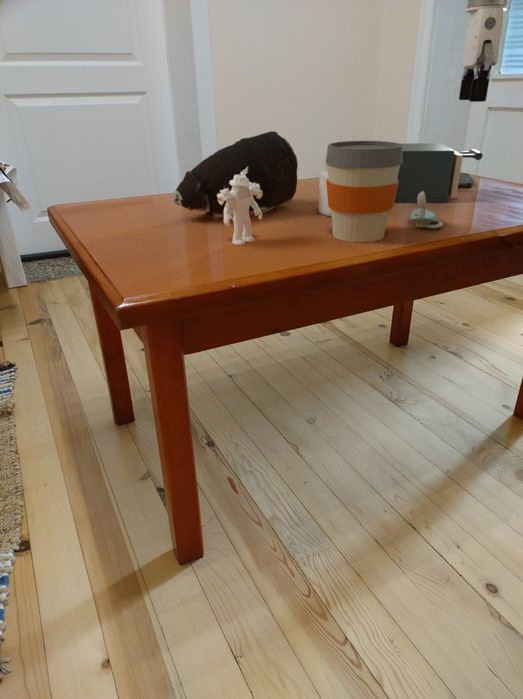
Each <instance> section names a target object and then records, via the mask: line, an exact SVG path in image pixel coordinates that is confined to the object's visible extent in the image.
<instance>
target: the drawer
mask: <svg viewBox="0 0 523 699" xmlns="http://www.w3.org/2000/svg"><path fill="white" fill-rule="evenodd" d="M449 148H450V149H452V148H451V147H449ZM465 158H468V159H469V158H472V159H474V160H476V161H480V160H482V159H483V153H482V152H481V151H479V150H476V149H474V148H470V149H469V150H467V151H456V150H454V158H453V164H452V171H451V177H450V184H449V190H448V197H449V198H450V199H457V194H458V188H459V187H458V183H459V176H460V173H461V168H462V163H463V159H465Z"/></svg>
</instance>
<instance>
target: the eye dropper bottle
mask: <svg viewBox="0 0 523 699" xmlns="http://www.w3.org/2000/svg"><path fill="white" fill-rule="evenodd" d="M327 179H329V178H328V165H327V164H326V158H325V159H324V171H322V172H321V173H320V175H319V181H318V204H317V206H318V208H317V210H318V213H319V214H320V215H322V216H326V217H331V209H330V208H329V207H328V196H327V184H326V180H327Z"/></svg>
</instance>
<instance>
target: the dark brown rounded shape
mask: <svg viewBox="0 0 523 699" xmlns="http://www.w3.org/2000/svg"><path fill="white" fill-rule="evenodd" d="M247 167H248V169H247V170H248V171H247V173H246V174H245V175H246V177H247V178H248V179H249V182H251V183H254V182H255V183H256V184H258V183H259V184H258V185H259V186H260V191H262V193H263V194H262V197H261V198H260V199H258V198H257V197H256V196H258V195H256V196H255V195H253V198H254V200H255V202H256V203H257V205H258V207H259V209H260V211H261V212H262V215H263V214H266V213H267V212H269V211H271V210H273V209H275V208H277V207H280V206H282V205H285V204H287V205H288V204H289V203H291V202H292V201H293V200H294V196H295V195H296V192H297V187H298V167H299V164H298V157H297V155H296V153H295V151H294V148H293V147H292V145H291V144H290V142H289V141H288V140H287V139H286V138H284V137H283V136H281V134H279V133H278V131H272V130H271V131H268V132H264V133H261V134H257V135H254V136H250V137H244V138H243V137H242V138H240V139H239V140H238V141H235V142H234V143H232V144H231V145H227V146H225V147H223V148H221V149H218V150H216V152H214V153H212V154H211V155H209V156H207V157H206V158H205V159H203V160H202V161H201V162H199V163H198V164H197V165H196V166H195V167H193V168H192V169H191V170H187V171H185V173H184V176H183V179H182V181H180V183H179V184H178V186H177V187H176V189H175V191H174V192H173V197H172V200H173V202H174V204H175V205H176V206H179V207H183V208H185V209H186V210H188V211H190V212H191V211H200V212H203V213H205V217H206V216H207V217H211V218H212V219H213V220H218V219H222V218H224V207H225V204H226V202H227V201H224V203H223V204H222V205H220V204H219V202H218V197H217V194H219V193H221V192H220V190H221V191H222V190H223V189H225V188H229V191H231V189H232V185H230V183H229V182H230V180H233V178H234V175H241V172H242V171H243V170H245V169H246V168H247ZM219 200H220V199H219ZM230 215H231V214H230ZM231 216H232V217H234V216H233V215H231ZM249 216H255V212H254V209H253V208H252V206H251V205H250V206H249Z"/></svg>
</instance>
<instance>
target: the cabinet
mask: <svg viewBox="0 0 523 699" xmlns="http://www.w3.org/2000/svg"><path fill="white" fill-rule="evenodd" d="M401 144H402V164H401V165H400V167H399V172H398V176H397V180H398V181H399V183H398V187H397V192H396V196H395V200H394V204H395V203H396V204H397V203H398V204H399V203H400V204H401V203H404V204H405V203H406V204H407V203H408V204H409V203H410V204H411V203H412V204H418V203H417V198H418V195H419V193H420V192H422V191H424V193H425V198H426V204H447V203H448V197H449V196H448V190H449V184H450V177H451V171H452V164H453V158H454V151H455V150H454V149H452V148H451V147H448V146H446V145H445V144H443V143H440V142H437V143H435V142H433V143H431V142H430V143H426V142H425V143H424V142H423V143H422V142H421V143H420V142H419V143H401ZM450 148H451V149H450Z"/></svg>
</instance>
